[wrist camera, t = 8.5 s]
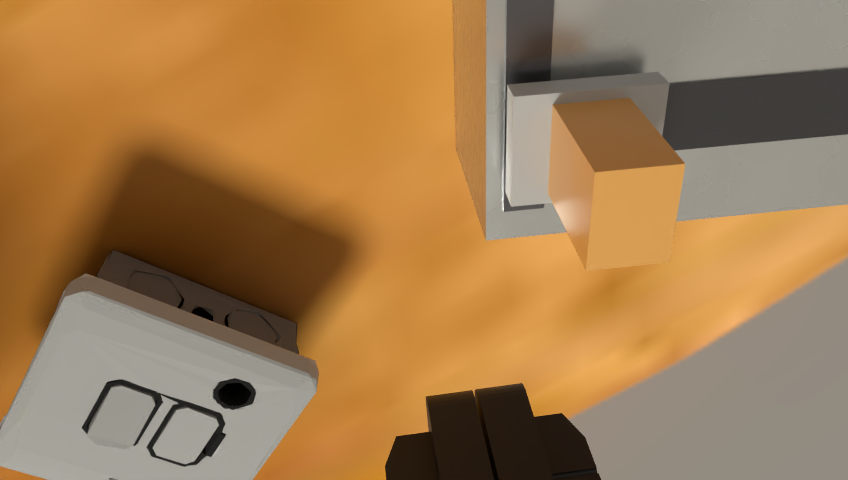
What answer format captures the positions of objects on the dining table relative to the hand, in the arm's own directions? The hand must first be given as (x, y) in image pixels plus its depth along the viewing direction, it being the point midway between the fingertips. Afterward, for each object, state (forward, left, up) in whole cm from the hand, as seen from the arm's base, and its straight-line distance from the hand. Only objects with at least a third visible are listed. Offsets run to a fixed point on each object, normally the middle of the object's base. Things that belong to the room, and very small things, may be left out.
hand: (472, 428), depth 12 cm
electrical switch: (+8, -8, -17) cm, 20 cm away
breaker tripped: (0, +5, -10) cm, 11 cm away
